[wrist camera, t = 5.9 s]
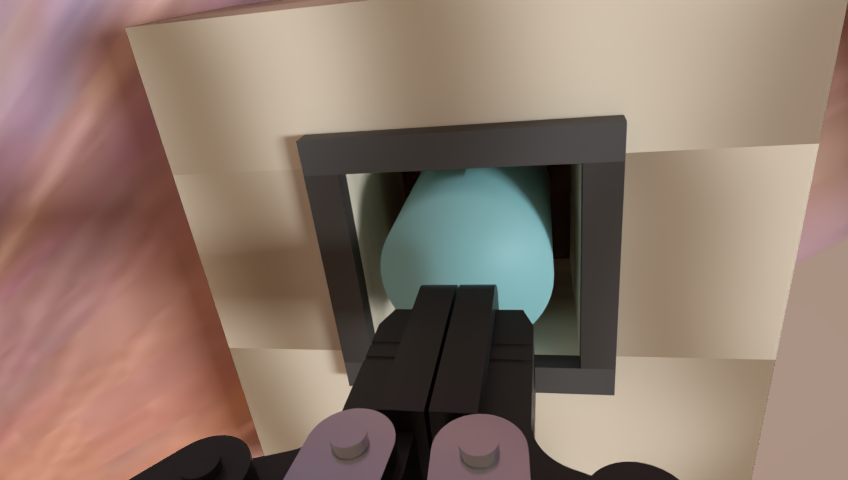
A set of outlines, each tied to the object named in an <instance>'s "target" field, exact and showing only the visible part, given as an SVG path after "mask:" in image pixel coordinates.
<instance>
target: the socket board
mask: <svg viewBox="0 0 848 480" xmlns="http://www.w3.org/2000/svg"><path fill="white" fill-rule="evenodd" d="M847 3H848V0H282V1H274V2H265V3H256V4H248V5H239V6H232V7H227V8H222V9H217V10H212V11H207V12H202V13H197V14H192V15H187V16H182V17H177V18H172V19H167V20H162V21H157V22H152V23H147V24H142V25H137V26H131V27H126V28H125V30H126V33H127V36H128V39H129V42H130V45H131V48H132V51H133V54H134V57H135V60H136V63H137V66H138V70H139V73H140V76H141V79H142V82H143V85H144V88H145V91H146V94H147V97H148V100H149V103H150V106H151V109H152V113H153V116H154V119H155V122H156V125H157V128H158V131H159V134H160V137H161V140H162V143H163V146H164V149H165V152H166V155H167V159H168V162H169V165H170V168H171V171H172V174H173V177H174V180H175V183H176V186H177V189H178V192H179V195H180V198H181V201H182V205H183V208H184V211H185V214H186V217H187V220H188V223H189V226H190V229H191V232H192V235H193V238H194V241H195V244H196V248H197V251H198V254H199V257H200V260H201V263H202V266H203V269H204V272H205V275H206V278H207V281H208V284H209V287H210V290H211V294H212V297H213V300H214V303H215V306H216V309H217V312H218V315H219V318H220V321H221V324H222V327H223V330H224V333H225V336H226V340H227V343H228V346H229V349H230V352H231V355H232V358H233V361H234V364H235V367H236V370H237V373H238V376H239V379H240V383H241V386H242V389H243V392H244V395H245V398H246V401H247V404H248V407H249V410H250V413H251V416H252V419H253V422H254V425H255V429H256V432H257V435H258V438H259V441H260V444H261V447H262V450H263V453H264V456H267V455H272V454H277V453H281V452H286V451H290V450H294V449H298V448H300V447H302V446H303V444H304V442H305V441H306V439H307V437H308V435H309V434H310V433H311V431H312V430H313V429H314V428H315V427H316V426H317V425H318V424H319V423H320V422H321V421H323V420H324V419H326V418H327V417H329V416H331V415H333V414H335V413H338V412H341V411H342V410H343V408H344V405H345V403H346V401H347V398H348V396H349V394H350V391H351V389H352V387H353V384H354V382H355V380H356V377H357V375H358V373H359V370H360V368H361V366H362V363H363V361H364V360H365V359H366V354H367V352H368V349H369V347H370V345H372V340H373V338H374V335H375V333H376V331H377V328H378V326H379V324H380V323H381V322H382V321H383V320H384V319H385V318H387V317H388V316H389V315H390V314H391V313H392V312H393V311H394V310H395V307H394V306H393V305H392V303H391V301H390V299H389V298H388V296H387V294H386V291H385V288H384V286H383V282H382V278H381V269H380V264H381V254H382V249H383V246H384V243H385V241H386V238H387V236H388V234H389V232H390V231H391V229H392V227H393V225H394V223H395V221H396V219H397V217H398V215H399V213H400V211H401V209H402V207H403V206H404V204H405V202H406V197H405V189H404V182H403V175H402V172H406V171H427V170H449V169H471V168H492V167H514V166H535V165H557V164H570V258H566V259H553V264H554V283H553V289H552V294H551V297H550V299H549V302H548V304H547V306H546V308H545V310H544V311H543V313H542V314H541V315H540V317H539V318H538V319H537V320H536V321H535V322H534V323H533V326H534V351H535V379H536V408H535V440H536V442H537V443H538V445H539V446H540V447H541V449H542V450H543V451H544V452H545V453H546V454H547V455H548V456H550V457H551V458H552V459H554V460H555V461H557V462H559V463H560V464H562V465H564V466H566V467H569V468H571V469H574V470H577V471H580V472H583V473H586V474H589V475H591V476H592V475H593V474H594V473H595V472H596V471H598V470H599V469H600V468H602V467H605V466H607V465H609V464H613V463H617V462H640V463H646V464H649V465H653V466H656V467H658V468H660V469H663V470H665V471H667V472H668V473H670V474H672V475H674V476H675V477H676V478H678V479H679V480H751V479H752V475H753V470H754V465H755V460H756V455H757V450H758V445H759V440H760V435H761V430H762V425H763V420H764V415H765V410H766V405H767V400H768V395H769V390H770V385H771V380H772V375H773V371H774V366H775V361H776V356H777V350H778V345H779V341H780V336H781V330H782V326H783V321H784V315H785V311H786V306H787V301H788V296H789V291H790V286H791V281H792V276H793V271H794V266H795V261H796V256H797V251H798V247H799V242H800V237H801V232H802V227H803V222H804V217H805V212H806V207H807V202H808V197H809V192H810V187H811V182H812V177H813V172H814V167H815V162H816V157H817V152H818V147H819V142H820V137H821V132H822V127H823V123H824V118H825V113H826V108H827V103H828V98H829V93H830V88H831V83H832V78H833V73H834V68H835V63H836V58H837V53H838V48H839V43H840V38H841V33H842V28H843V23H844V18H845V13H846V8H847Z"/></svg>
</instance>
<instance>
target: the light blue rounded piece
mask: <svg viewBox="0 0 848 480" xmlns="http://www.w3.org/2000/svg"><path fill="white" fill-rule="evenodd" d="M380 269H381V278H382V282H383V286H384V288H385V291H386V294H387V296H388V298H389V299H390V301H391V303H392V305H393V306H394V307H395V309H412V308H413V305H414V303H415V300H416V297H417V294H418V291H419V289H420V286H421V285H458V286H459V285H481V284H496V285H497V290H498V302H499V310H523V311H524V312H525V314H526V315H527V317H528V318H529V320H530V321H531V323H532V324H533V323H534V322H535V321H536V320H537V319H538V318H539V317H540V315H541V314H542V313H543V311H544V310H545V308H546V306H547V304H548V302H549V299H550V297H551V294H552V289H553V283H554V264H553V242H552V220H551V198H550V180H549V173H548V169H547V166H546V165H535V166H514V167H492V168H471V169H449V170H427V171H421V173H420V175H419V177H418V179H417V181H416V182H415V184H414V186H413V188H412V190H411V192H410V194H409V196H408V198H407V200H406V202H405V204H404V206H403V207H402V209H401V211H400V213H399V215H398V217H397V219H396V221H395V223H394V225H393V227H392V229H391V231H390V232H389V234H388V236H387V238H386V241H385V243H384V246H383V249H382V254H381V264H380Z"/></svg>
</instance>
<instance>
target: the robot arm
mask: <svg viewBox="0 0 848 480" xmlns="http://www.w3.org/2000/svg"><path fill="white" fill-rule="evenodd" d="M535 408H536V379H535V351H534V326H533V324H532V323H531V321H530V320H529V318H528V317H527V315H526V314H525V312H524V311H523V310H499V302H498V290H497V285H496V284H481V285H459V286H458V285H421V286H420V289H419V291H418V294H417V297H416V300H415V303H414V305H413V308H412V309H395V310H394V311H393V312H392V313H391V314H390V315H389V316H388V317H387V318H385V319H384V320H383V321H382V322H381V323H380V324H379V326H378V328H377V331H376V333H375V335H374V338H373V340H372V345H370V347H369V349H368V352H367V354H366V359H365V360H364V361H363V363H362V366H361V368H360V370H359V373H358V375H357V377H356V380H355V382H354V384H353V387H352V389H351V391H350V394H349V396H348V398H347V401H346V403H345V405H344V408H343V410H342V411H341V412H338V413H335V414H333V415H331V416H329V417H327V418H326V419H324V420H323V421H321V422H320V423H319V424H318V425H317V426H316V427H315V428H314V429H313V430H312V431H311V433H310V434H309V435H308V437H307V439H306V441H305V442H304V444H303V446H302V447H300V448H298V449H294V450H290V451H286V452H281V453H277V454H272V455H267V456H262V457H258V458H253V459H252V456H251V453H250V450H249V448H248V446H247V445H246V443H244V442H243V441H242V440H240V439H238V438H236V437H233V436H226V435H221V436H212V437H207V438H204V439H201V440H198V441H196V442H193V443H191V444H190V445H188V446H186V447H184V448H182V449H181V450H179V451H177V452H175V453H174V454H172V455H170V456H169V457H167V458H165V459H163V460H162V461H160V462H158V463H157V464H155V465H153V466H152V467H150V468H148V469H146V470H145V471H143V472H141V473H140V474H138V475H136V476H134V477H133V478H131V479H129V480H679V479H678V478H676V477H675V476H674V475H672V474H670V473H668V472H667V471H665V470H663V469H660V468H658V467H656V466H653V465H649V464H646V463H640V462H617V463H613V464H609V465H607V466H605V467H602V468H600V469H599V470H598V471H596V472H595V473H594V474H593V475H592V476H591V475H589V474H586V473H583V472H580V471H577V470H574V469H571V468H569V467H566V466H564V465H562V464H560V463H559V462H557V461H555V460H554V459H552V458H551V457H550V456H548V455H547V454H546V453H545V452H544V451H543V450H542V449H541V447H540V446H539V445H538V443H537V442H536V440H535Z"/></svg>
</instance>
